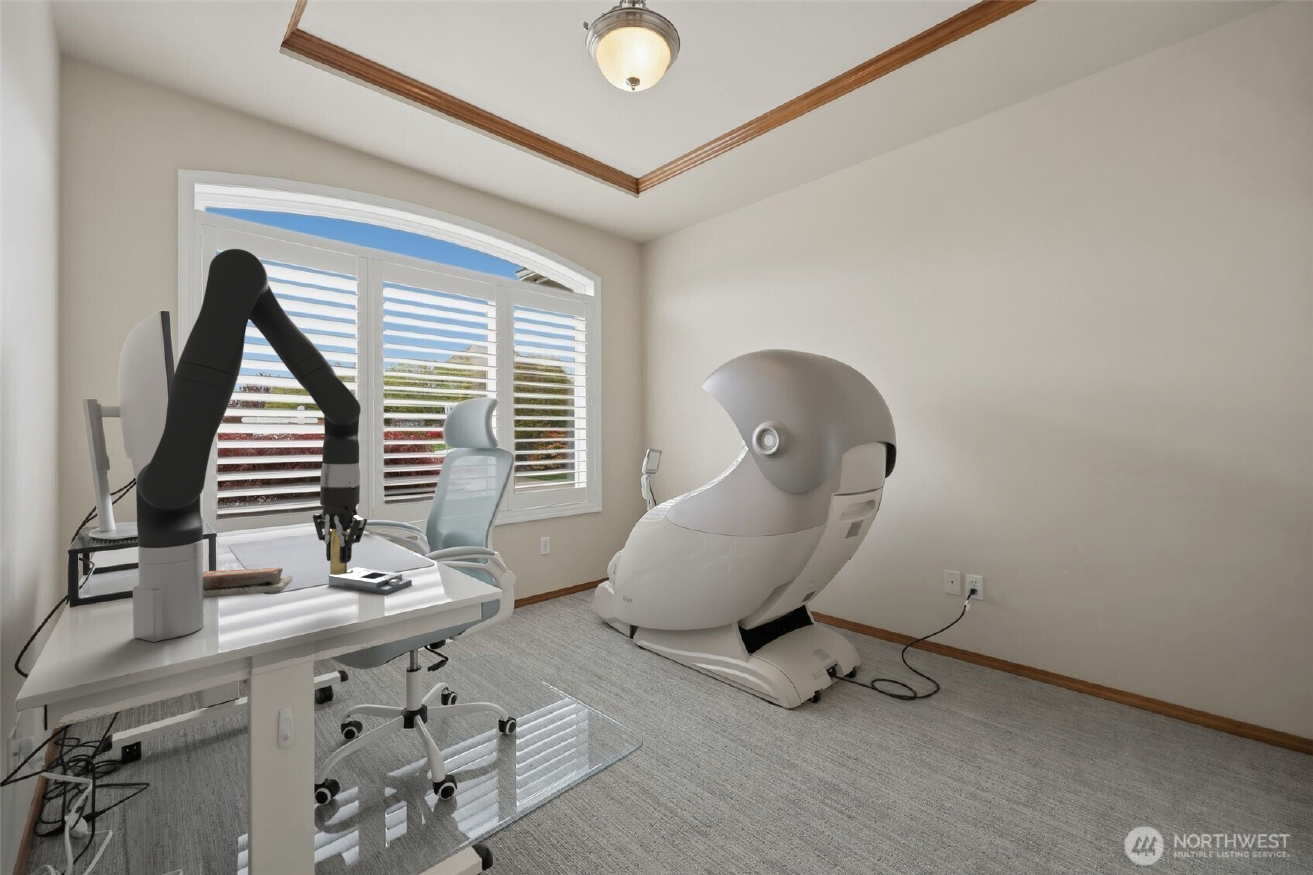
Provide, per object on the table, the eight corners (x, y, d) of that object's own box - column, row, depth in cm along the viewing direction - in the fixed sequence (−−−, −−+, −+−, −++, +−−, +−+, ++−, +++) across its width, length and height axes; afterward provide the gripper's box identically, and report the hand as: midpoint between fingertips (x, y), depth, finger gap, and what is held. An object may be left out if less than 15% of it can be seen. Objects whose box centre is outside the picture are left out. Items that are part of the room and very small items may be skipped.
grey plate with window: (386, 594, 128) (386, 583, 128) (328, 585, 134) (328, 574, 134) (411, 584, 136) (411, 574, 136) (356, 576, 142) (356, 566, 142)
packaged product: (187, 579, 123) (206, 567, 132) (187, 600, 123) (207, 587, 132) (281, 572, 129) (293, 562, 138) (281, 593, 129) (293, 581, 138)
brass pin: (337, 575, 119) (338, 530, 118) (326, 573, 120) (327, 528, 119) (350, 572, 122) (351, 527, 121) (339, 570, 123) (340, 526, 122)
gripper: (301, 483, 119) (299, 561, 119) (350, 487, 114) (348, 569, 115) (331, 480, 126) (330, 554, 126) (379, 484, 121) (377, 561, 122)
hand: (338, 561), depth 120 cm, fingers closed on brass pin, 3 cm apart
